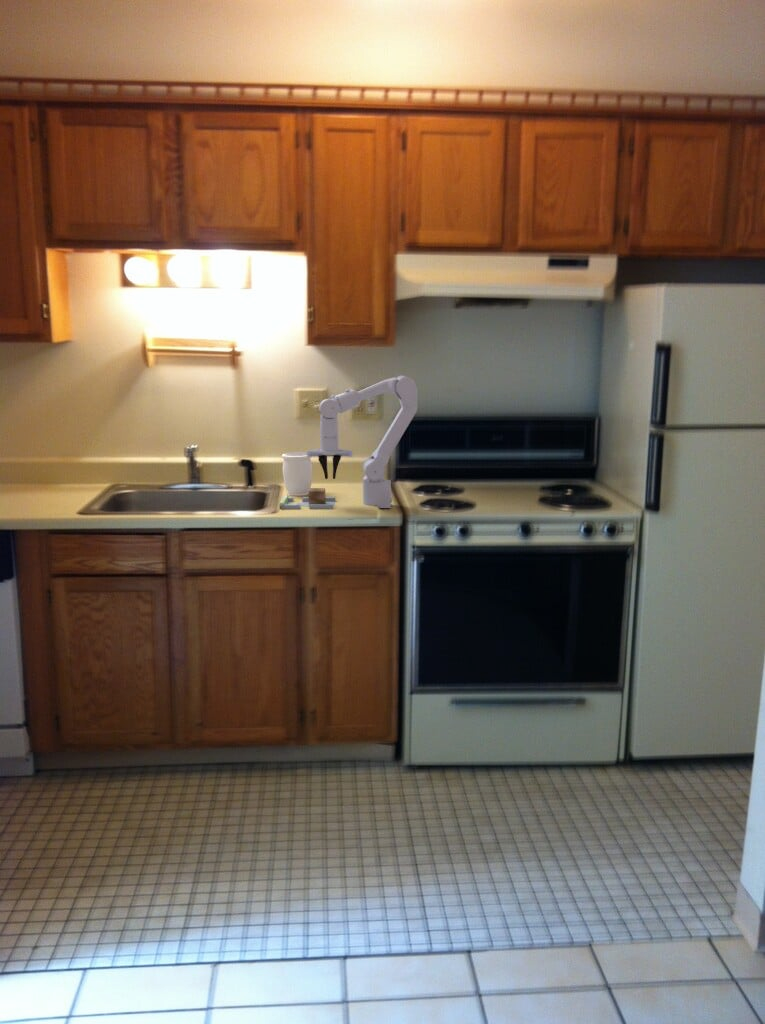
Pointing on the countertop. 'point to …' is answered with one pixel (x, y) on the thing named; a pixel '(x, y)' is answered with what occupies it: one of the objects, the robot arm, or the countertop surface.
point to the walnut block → (317, 496)
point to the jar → (297, 473)
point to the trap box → (306, 503)
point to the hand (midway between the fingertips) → (330, 478)
